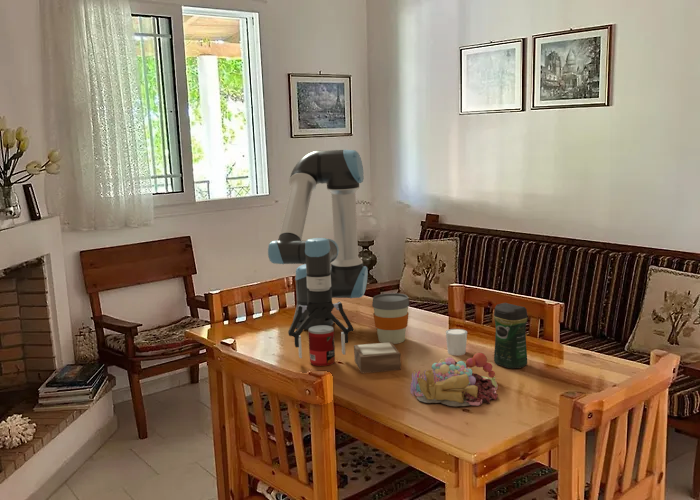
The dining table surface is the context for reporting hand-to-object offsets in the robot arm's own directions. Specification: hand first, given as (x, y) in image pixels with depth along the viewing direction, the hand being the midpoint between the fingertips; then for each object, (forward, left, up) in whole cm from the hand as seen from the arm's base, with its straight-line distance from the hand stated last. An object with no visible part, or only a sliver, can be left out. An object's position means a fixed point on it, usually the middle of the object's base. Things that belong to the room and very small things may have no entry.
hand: (322, 355), depth 214 cm
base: (+7, +16, -2) cm, 18 cm away
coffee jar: (+17, +55, -3) cm, 58 cm away
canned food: (0, 0, -3) cm, 3 cm away
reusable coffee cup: (-17, +26, -3) cm, 31 cm away
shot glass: (+2, +43, -3) cm, 43 cm away
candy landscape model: (+33, +32, -3) cm, 46 cm away
